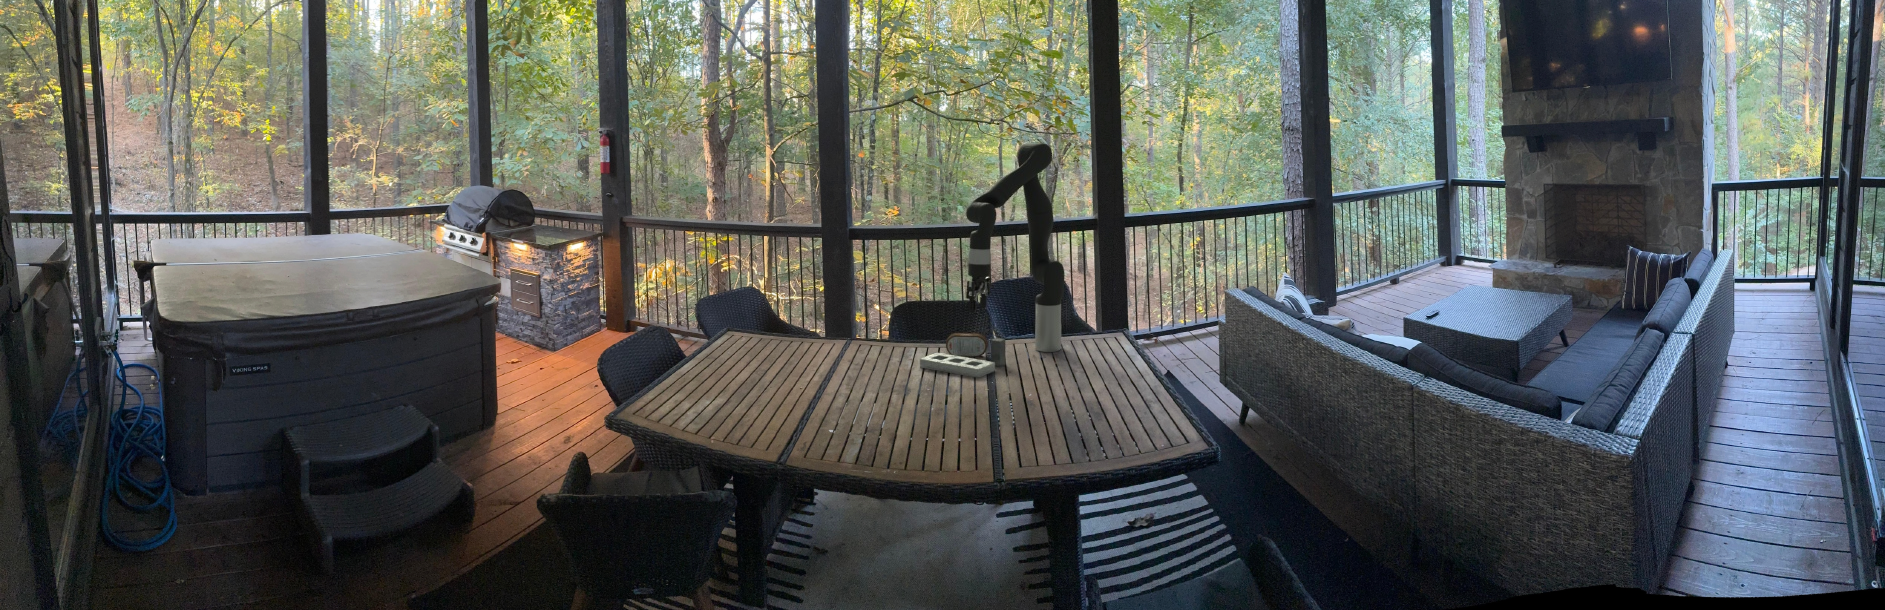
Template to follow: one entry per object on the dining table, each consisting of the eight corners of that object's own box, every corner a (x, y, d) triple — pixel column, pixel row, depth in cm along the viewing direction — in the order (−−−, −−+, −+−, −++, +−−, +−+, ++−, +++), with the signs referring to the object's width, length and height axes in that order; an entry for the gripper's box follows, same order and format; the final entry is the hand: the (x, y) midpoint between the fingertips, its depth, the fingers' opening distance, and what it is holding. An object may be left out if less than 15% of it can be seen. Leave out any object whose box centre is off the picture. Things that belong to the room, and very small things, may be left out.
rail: (936, 360, 319) (936, 352, 318) (994, 370, 305) (994, 362, 305) (920, 367, 311) (919, 358, 311) (978, 377, 297) (978, 369, 297)
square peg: (996, 363, 315) (996, 338, 313) (1005, 364, 313) (1005, 339, 311) (991, 365, 312) (990, 340, 311) (999, 366, 310) (999, 341, 308)
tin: (987, 355, 326) (987, 332, 324) (987, 357, 322) (987, 334, 321) (946, 355, 327) (945, 332, 325) (945, 357, 324) (945, 334, 322)
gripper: (980, 264, 297) (979, 313, 300) (998, 261, 310) (996, 307, 312) (960, 263, 300) (958, 311, 303) (978, 259, 313) (976, 305, 315)
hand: (977, 309), depth 307 cm, fingers open, 8 cm apart
